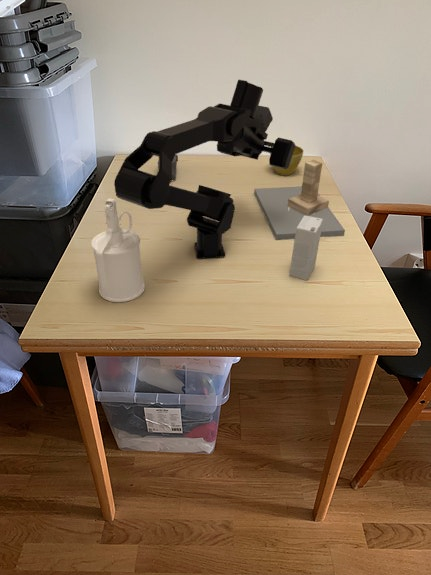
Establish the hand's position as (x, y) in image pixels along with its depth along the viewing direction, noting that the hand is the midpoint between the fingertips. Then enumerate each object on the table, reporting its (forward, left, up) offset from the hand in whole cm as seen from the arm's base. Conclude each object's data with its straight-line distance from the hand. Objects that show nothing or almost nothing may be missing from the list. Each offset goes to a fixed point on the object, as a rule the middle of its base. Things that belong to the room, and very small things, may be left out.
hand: (268, 156), depth 118 cm
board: (-3, -8, -15) cm, 17 cm away
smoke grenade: (-32, +37, -15) cm, 51 cm away
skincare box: (-30, -2, -15) cm, 33 cm away
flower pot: (+24, -12, -15) cm, 31 cm away
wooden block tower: (-2, -11, -13) cm, 18 cm away
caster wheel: (+25, +24, -15) cm, 38 cm away
